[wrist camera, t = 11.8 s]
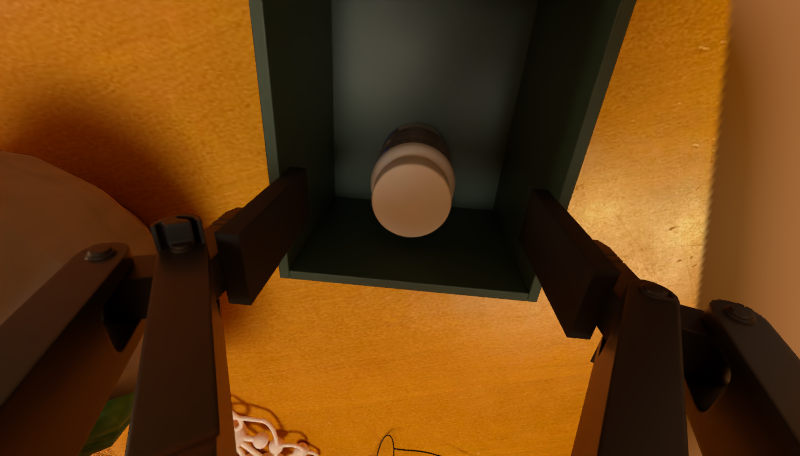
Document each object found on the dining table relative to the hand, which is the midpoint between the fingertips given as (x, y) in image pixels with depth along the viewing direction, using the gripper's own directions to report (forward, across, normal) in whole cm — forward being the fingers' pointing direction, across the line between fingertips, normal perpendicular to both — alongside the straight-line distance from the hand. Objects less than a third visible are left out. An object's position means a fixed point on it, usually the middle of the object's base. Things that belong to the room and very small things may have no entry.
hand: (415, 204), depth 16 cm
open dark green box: (+9, 0, +3) cm, 10 cm away
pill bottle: (+9, 0, 0) cm, 9 cm away
